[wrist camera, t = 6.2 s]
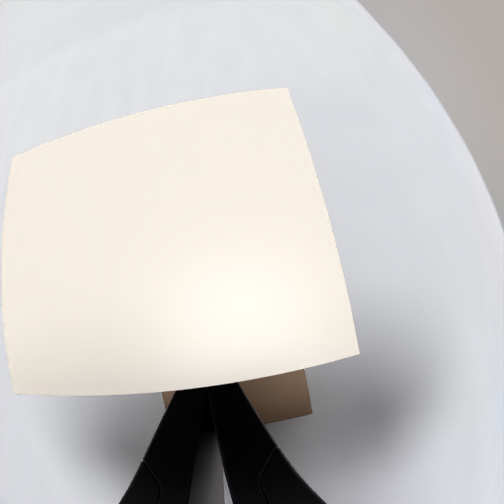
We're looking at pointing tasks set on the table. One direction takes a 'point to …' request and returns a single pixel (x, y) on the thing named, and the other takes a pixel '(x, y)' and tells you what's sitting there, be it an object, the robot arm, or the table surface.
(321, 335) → the gray cream rectangular block
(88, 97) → the table surface
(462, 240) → the table surface
